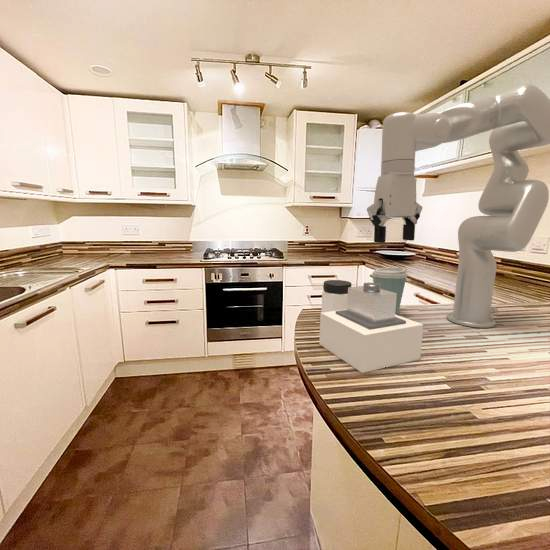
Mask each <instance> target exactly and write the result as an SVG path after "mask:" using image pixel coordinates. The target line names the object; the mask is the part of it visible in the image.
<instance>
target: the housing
mask: <svg viewBox="0 0 550 550" xmlns="http://www.w3.org/2000/svg"><path fill="white" fill-rule="evenodd" d="M396 298H397V293H394V292H390V291H387V290H383V289H380V284H378V283H374V282H364V283H363V285H359V286H351V287H348V301H347V312H348V313H350V314H353V315H355V316H357V317H360V318H362V319H364V320H367V321H369V322H371V323H380V322H386V321H391V320H395V310H396Z"/></svg>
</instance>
